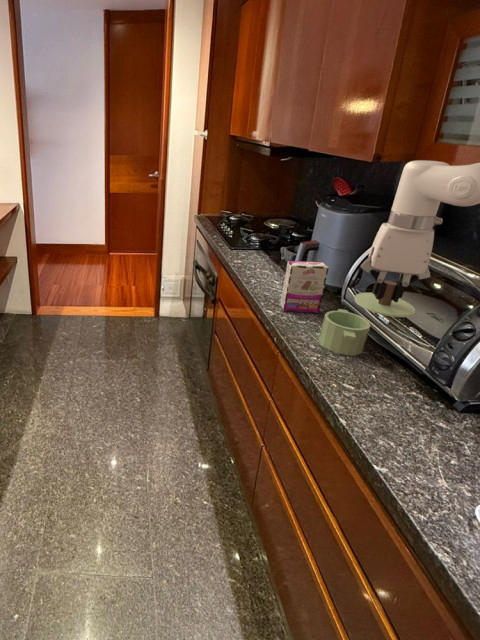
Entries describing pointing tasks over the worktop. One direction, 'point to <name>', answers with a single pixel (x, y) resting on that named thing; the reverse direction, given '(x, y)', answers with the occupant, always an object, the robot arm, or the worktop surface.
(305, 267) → the candy bar box
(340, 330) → the pot
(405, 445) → the worktop surface
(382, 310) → the lid
